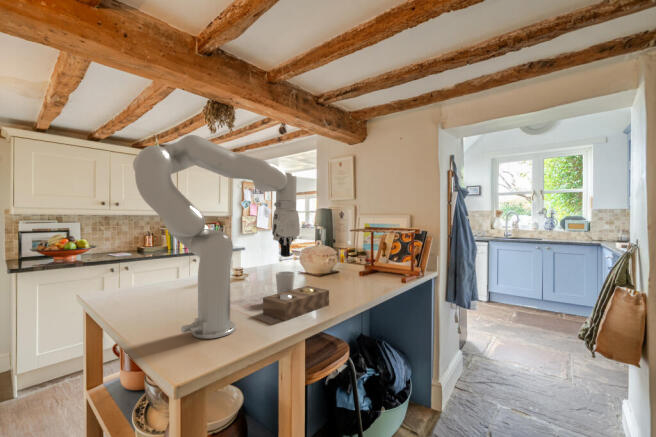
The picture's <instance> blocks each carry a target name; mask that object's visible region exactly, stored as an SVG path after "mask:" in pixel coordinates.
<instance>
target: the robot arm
mask: <svg viewBox="0 0 656 437" xmlns="http://www.w3.org/2000/svg"><path fill="white" fill-rule="evenodd" d="M194 166H197V167H200V168H201V169H205V170H207V171H209V172H212V173H215V174H217V175H220V176H223V177H225V178H229V179H236V180H238V179H239V180H241V179H242V180H248V181H249V180H250V181H252V183H253V186H254V187H255V188H256V190H258V191H260V192H264V193H266V192H275V202H274V203H273V206H274V207H275V209H274V212H273V216H272V228H271V232H272V234H271V235H272V236H273V238H272V239H273V241H276V242H278V245H279V246H280V256H281V257H289V256H291V253H290V252H291V250H290V249H291V247H290V246H291V245H292V243H293V241H296V240H297V238H298V236H300V229H301V228H300V218H299V211H298V210H297V183H298V182H297V175H296V174H295V173H293V172H285V171H284V170H283V169H282V168H280V167H279V166H276V165H275V164H272V163H270V162H268V161H266V160H263V159H261V158H257V157H253V156H249V155H247V154H242V153H238V152H234V151H232V150H230V149H229V148H226V147H224V146H221V145H220V144H217V143H215V142H213V141H211V140H208V139H206V138H204V137H201V136H199V135H195V134H189V135H186V136H184V137H183V138H181V139H180V140H178V141H177V142H173V143H172V144H168V145H165V146H161V145H155V144H154V145H148V146H146V147H144V148H142V149H141V150H140V151H139V152H138V154H137V155H136V156H135V157H134V159H133V161H132V167H133V170H134V175H135V184H136V188H137V191H138V193H139V194H140V197H141V198H142V199H143V200H144V202H145V203H146V204H147V205H148V206H149V207H150V208H151V209H152V210H153V211H154V212H155V213H156V214H157V215H158V216H159V217H160V218H161V219H162V220H163V223H164V226H165V229H166V230H167V231H168V233H169V234H171V235H172V237H174V239H176V240H177V241H178V242H179V243H180V244H182V245H183V246H184V247H185V248H186V249H187V250H188V251H189V252H191V253H192V254H193V255H195V256H197V257H198V258H199V262H198V268H197V269H198V270H197V318H194V321H193V322H192V323H191V324H186V325H182V326H181V327H180V331H181V333H182V334H184V333H188V332H189V333H190V334H191V335H192V336H193V337H194V338H198V339H202V340H203V339H204V340H205V339H207V340H208V339H210V340H211V339H217V338H222V337H226V336H228V335H230V334H232V333H234V332H235V330H236V328H237V327H236V326H237V325H236V323H235V322H233V321H231V266H232V259H233V250H234V247H233V246H234V244H233V241H232V239H231V237H230V236H229V235H228V234H227V233H226V232H224V231H222V230H219V229H218V230H217V229H211V228H209V227H208V225H206V222H207V221H206V218H205V215H204V214H203V212H202V211H201V210H200V209H199V208H198V207H196V206H195V205H194V204H193V203H192V201H190V200H189V199H188V198H187V197H186V196H185V195H184V194H183V193H182V192H181V191H180V190H179V188H177V187H176V185H175V184H174V181H173V179H172V175H173V174H176V173H179V172H181V171H184V170H186V169H188V168H192V167H194Z"/></svg>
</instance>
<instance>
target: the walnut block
mask: <svg viewBox="0 0 656 437" xmlns="http://www.w3.org/2000/svg"><path fill="white" fill-rule="evenodd" d="M304 288H313V289H314V292H312V293H309V294H308V293H304V292H303V289H304ZM282 294H291V295H292V299H288V300H283V299H280V295H282ZM329 305H330V289H326V288H320V287H316V286H315V287H314V286H309V285H305V286H301V287H298V288H293V290H290V291H286V292H282V293H278V294H277V293H276V294H270V295H268V296H264V297H262V314H263V315H265V314H266V316H268V315H269V316H268V317H271V316H272V318H274V317H275V318H274V319H277V318H278V319H277V320H280V319H281V320H280V321H283V322H287V321H289V320H292V319H295V318H297V317H300V316H303V315H306V314H309V313H312V312H314V311H316V310H319V309H322V308H324V307H327V306H329Z"/></svg>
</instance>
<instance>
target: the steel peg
mask: <svg viewBox="0 0 656 437" xmlns="http://www.w3.org/2000/svg"><path fill="white" fill-rule="evenodd" d="M280 299H283V300H288V299H292V295H291V294H282V295H280Z"/></svg>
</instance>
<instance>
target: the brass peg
mask: <svg viewBox="0 0 656 437" xmlns="http://www.w3.org/2000/svg"><path fill="white" fill-rule="evenodd" d="M303 292H304V293H308V294H309V293H312V292H314V289H313V288H304V289H303Z"/></svg>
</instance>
